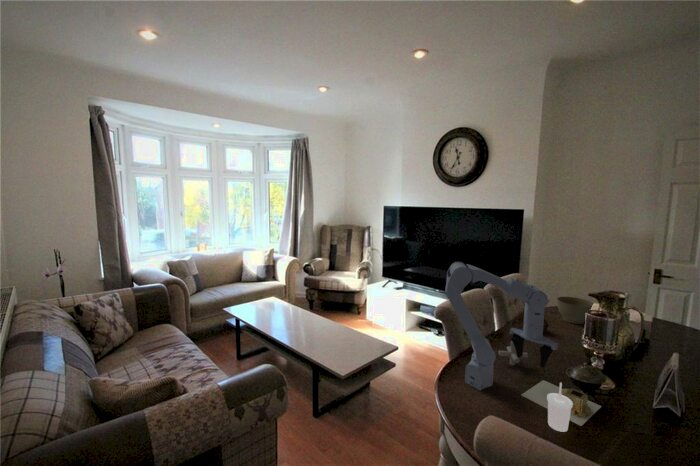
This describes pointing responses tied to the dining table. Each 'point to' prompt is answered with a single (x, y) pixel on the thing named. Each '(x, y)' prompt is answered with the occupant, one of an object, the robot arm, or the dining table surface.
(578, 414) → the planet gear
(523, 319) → the dragon fruit
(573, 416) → the plate
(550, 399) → the beverage cup
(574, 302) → the planter bowl
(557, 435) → the dining table surface
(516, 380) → the dining table surface
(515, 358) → the pipe connector
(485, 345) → the robot arm
